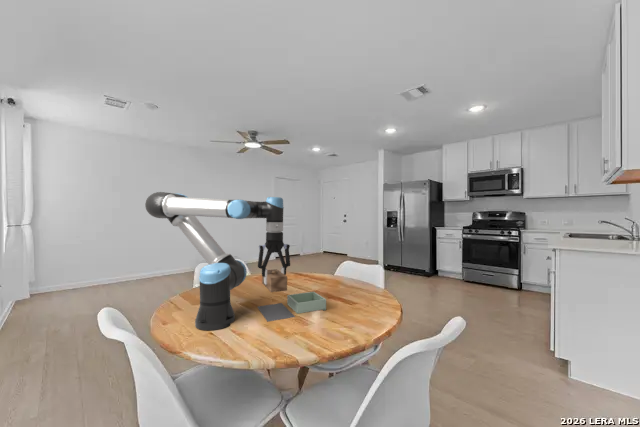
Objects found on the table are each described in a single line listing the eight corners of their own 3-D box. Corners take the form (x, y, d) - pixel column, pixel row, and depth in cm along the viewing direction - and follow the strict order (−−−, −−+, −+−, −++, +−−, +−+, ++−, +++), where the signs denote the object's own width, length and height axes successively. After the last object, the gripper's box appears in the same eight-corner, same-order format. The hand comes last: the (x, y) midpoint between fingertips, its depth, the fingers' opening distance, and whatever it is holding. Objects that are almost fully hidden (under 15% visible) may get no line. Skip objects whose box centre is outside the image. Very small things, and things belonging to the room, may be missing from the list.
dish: (297, 315, 119) (297, 303, 119) (287, 305, 132) (287, 295, 132) (326, 310, 125) (326, 299, 125) (313, 301, 138) (313, 291, 138)
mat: (267, 323, 111) (267, 321, 111) (256, 307, 129) (256, 306, 129) (295, 318, 116) (295, 316, 116) (281, 304, 134) (281, 302, 134)
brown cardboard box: (270, 292, 114) (271, 275, 114) (262, 283, 128) (262, 268, 128) (287, 290, 116) (287, 274, 116) (276, 281, 131) (276, 267, 131)
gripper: (253, 232, 115) (253, 287, 115) (298, 231, 123) (297, 282, 123) (250, 231, 121) (249, 283, 121) (293, 230, 130) (292, 279, 130)
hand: (274, 282), depth 122 cm, fingers closed on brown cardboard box, 7 cm apart
